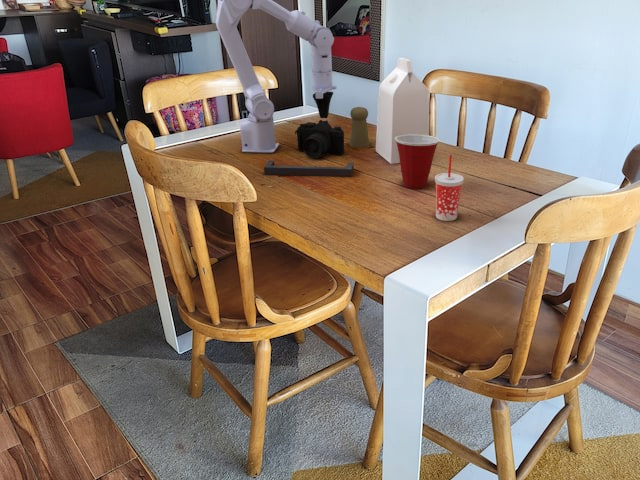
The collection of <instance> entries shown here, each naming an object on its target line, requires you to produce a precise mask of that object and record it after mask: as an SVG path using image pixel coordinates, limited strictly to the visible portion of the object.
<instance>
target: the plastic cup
mask: <svg viewBox="0 0 640 480" xmlns="http://www.w3.org/2000/svg"><path fill="white" fill-rule="evenodd" d="M395 141H396V143H397V147H398V152H399V159H400V163H399V166H400V173H401V178H402V183H403V186H404V187H406V188H407V189H414V190H418V189H419V190H420V189H424V188H425V187H427V185H428V181H429V177H430V173H431V170H432V165H433V162H434V156H435V153H436V149H437V146H438V144H439V143H440V138H438V137H437V136H432V135H430V134H429V135H419V134H407V135H399V136H397V137H395Z"/></svg>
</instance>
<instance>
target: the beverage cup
mask: <svg viewBox="0 0 640 480" xmlns="http://www.w3.org/2000/svg"><path fill="white" fill-rule="evenodd" d="M448 157H449V158H448V160H449V161H448V172H443V173H438V174H435V176H434V183H435V217H436V219H438V220H440V221H444V222H449V221H450V222H451V221H455V220H457V218H458V213H459V206H460V200H461V192H462V186H463V183H464V179H465V178H464V176H463V175H461V174H458V173H453V172H452V161H453V154H449V156H448Z"/></svg>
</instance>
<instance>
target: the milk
mask: <svg viewBox="0 0 640 480" xmlns="http://www.w3.org/2000/svg"><path fill="white" fill-rule="evenodd" d="M376 113H377V116H376V117H377V118H376V135H375V152H376V153H377V154H378V155H380V156H381V157H382V158H383V159H384V160H386V161H387V162H388V163H389V164H390V165H393V164H400V159H399V152H398V147H397V143H396V141H395V137H397V136H399V135H407V134H419V135H429V136H430V91H429V89H428V87H427V85H425V84H424V82H422V81H421V79H420V78H418V77H417V76H416V74H415V73H414V72H413V63H412V60H411V59H408V58H406V57H402V56H401V57H397V60H396V65H395V68H394V69H393V70H392V71H391V72H390V73H389V74H388V75H387V76H386V77H385V78H384V79H383V81H381V83H380V84H379V86H378V93H377V112H376Z"/></svg>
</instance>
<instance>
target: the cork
mask: <svg viewBox="0 0 640 480" xmlns="http://www.w3.org/2000/svg"><path fill="white" fill-rule="evenodd" d="M349 115H350V118H351V129H350V137H349V146H350V147H351V148H358V149H361V148H367V147H369V146H370V145H371V144H370V137H369V129H368V123H367V119H368V117H369V111H368V108H366V107H364V106H356V107H352V108H351V109H350V114H349Z"/></svg>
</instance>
